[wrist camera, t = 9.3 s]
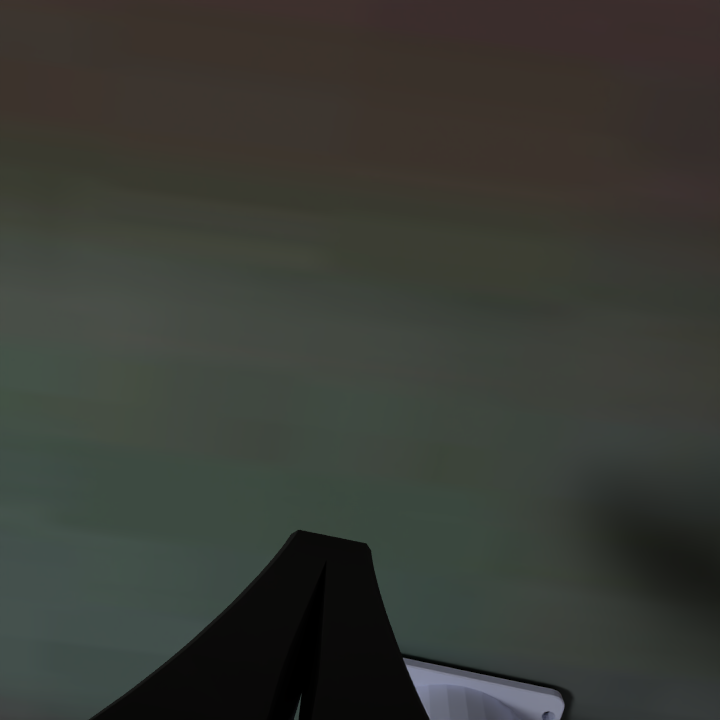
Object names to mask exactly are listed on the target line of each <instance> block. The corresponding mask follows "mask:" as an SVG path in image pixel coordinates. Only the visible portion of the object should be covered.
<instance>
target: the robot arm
mask: <svg viewBox="0 0 720 720" xmlns="http://www.w3.org/2000/svg"><path fill="white" fill-rule="evenodd" d="M301 693H302V696H301ZM300 697H301V704H300V712H299V720H560V719H561V716H562V714H563V711H564V707H565V704H564V701H563V698H562V696H561V694H560V693H559V692H558V691H557V690H554V689H550V688H545V687H540V686H536V685H531V684H526V683H521V682H517V681H512V680H507V679H502V678H497V677H493V676H488V675H483V674H478V673H473V672H469V671H464V670H459V669H454V668H450V667H445V666H440V665H435V664H430V663H426V662H421V661H416V660H411V659H407V658H403V657H402V655H401V652H400V650H399V647H398V645H397V642H396V639H395V636H394V633H393V630H392V628H391V625H390V622H389V619H388V616H387V614H386V610H385V607H384V604H383V601H382V598H381V594H380V591H379V587H378V583H377V580H376V575H375V571H374V567H373V561H372V555H371V550H370V548H369V547H368V545H367V544H366V543H361V542H357V541H352V540H347V539H342V538H337V537H332V536H327V535H322V534H317V533H312V532H307V531H302V530H297V531H296V532H294V533H292V534H291V535H290V537H289V538H288V540H287V541H286V543H285V544H284V545H283V547H282V548H281V549H280V550H279V552H278V553H277V554H276V555H275V557H274V558H273V559H272V560H271V561H270V563H269V564H268V565H267V566H266V567H265V568H264V569H263V571H262V572H261V573H260V574H259V575H258V576H257V577H256V578H255V579H254V580H253V581H252V582H251V583H250V584H249V586H248V587H247V588H246V589H245V590H244V591H243V592H242V593H241V594H240V595H239V596H238V597H237V598H236V599H235V600H234V601H233V602H232V603H231V604H230V605H229V606H228V607H227V608H226V609H225V610H224V611H223V612H222V613H221V614H220V615H219V616H217V617H216V618H215V619H214V620H213V621H212V622H211V623H210V624H209V625H208V626H207V627H205V628H204V629H203V630H202V631H201V632H200V633H199V634H198V635H197V636H196V637H195V638H194V639H192V640H191V641H190V642H189V643H188V644H187V645H186V646H184V647H183V648H182V649H181V650H180V651H179V652H177V653H176V654H175V655H174V656H173V657H171V658H170V659H169V660H168V661H167V662H165V663H164V664H163V665H162V666H160V667H159V668H158V669H157V670H155V671H154V672H153V673H152V674H150V675H149V676H148V677H146V678H145V679H144V680H143V681H141V682H140V683H139V684H137V685H136V686H135V687H134V688H132V689H131V690H130V691H128V692H127V693H126V694H124V695H123V696H121V697H120V698H119V699H117V700H116V701H114V702H113V703H112V704H110V705H109V706H107V707H106V708H105V709H103V710H102V711H100V712H99V713H98V714H96V715H95V716H93V717H92V718H91V719H89V720H294V717H295V713H296V710H297V707H298V703H299V700H300ZM547 711H550V712H548V713H544V712H547Z"/></svg>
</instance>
